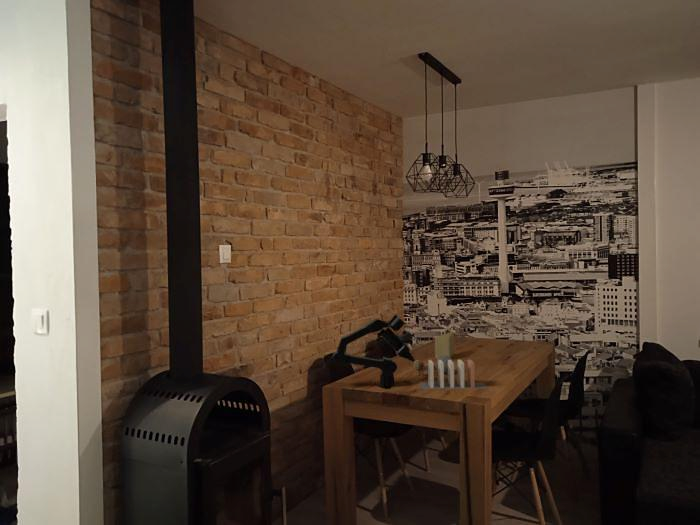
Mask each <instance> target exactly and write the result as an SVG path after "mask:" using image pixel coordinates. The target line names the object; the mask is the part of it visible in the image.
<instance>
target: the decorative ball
mask: <svg viewBox="0 0 700 525" xmlns="http://www.w3.org/2000/svg"><path fill="white" fill-rule="evenodd" d="M438 360H442V362H443V363H444V375H445V374H446V375H448V360H452V362H453V363H454V364H455V361H454V360H453V358H452V357H449V356H446V355H443V356H440V357H439V358H438V359H436V362H435V367H436V370H438Z"/></svg>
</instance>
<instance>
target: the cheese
mask: <svg viewBox="0 0 700 525" xmlns="http://www.w3.org/2000/svg"><path fill="white" fill-rule="evenodd" d="M455 348H456V346H455V332H454V331H449V332H447V333H444V334H439V335H436V336H435V337H434V355H435V359H436V360H437V359H438V358H439V357H440V356H443V355H446V356H449V357H451V358H452V357H454V355H455V350H456V349H455Z"/></svg>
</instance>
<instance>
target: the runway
mask: <svg viewBox="0 0 700 525" xmlns="http://www.w3.org/2000/svg"><path fill="white" fill-rule="evenodd" d="M419 384H420V387H421V389H422V390H423V389H424V390H430V389H431V390H436V389H437V390H445V389H447V390H449V389H451V390H455V389H457V390H458V389H459V390H460V389H462V390H464V389H465V390H467V389H468V390H469V389H480V390H481V389H488V386H486V385H485V383H484V382H482V381H481V382H480V381H477V382H475V388H471V387H470V385H469V384H468V381H467V382H466V381H464V388H461V387H460V385H459V384H458V381H457V382H455V381H454V388H451V387H450V386H449V384H448V381H444V388H441V387H440V386H439V384H438V382H434V388H430V386H429V384H428V382H419Z"/></svg>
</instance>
